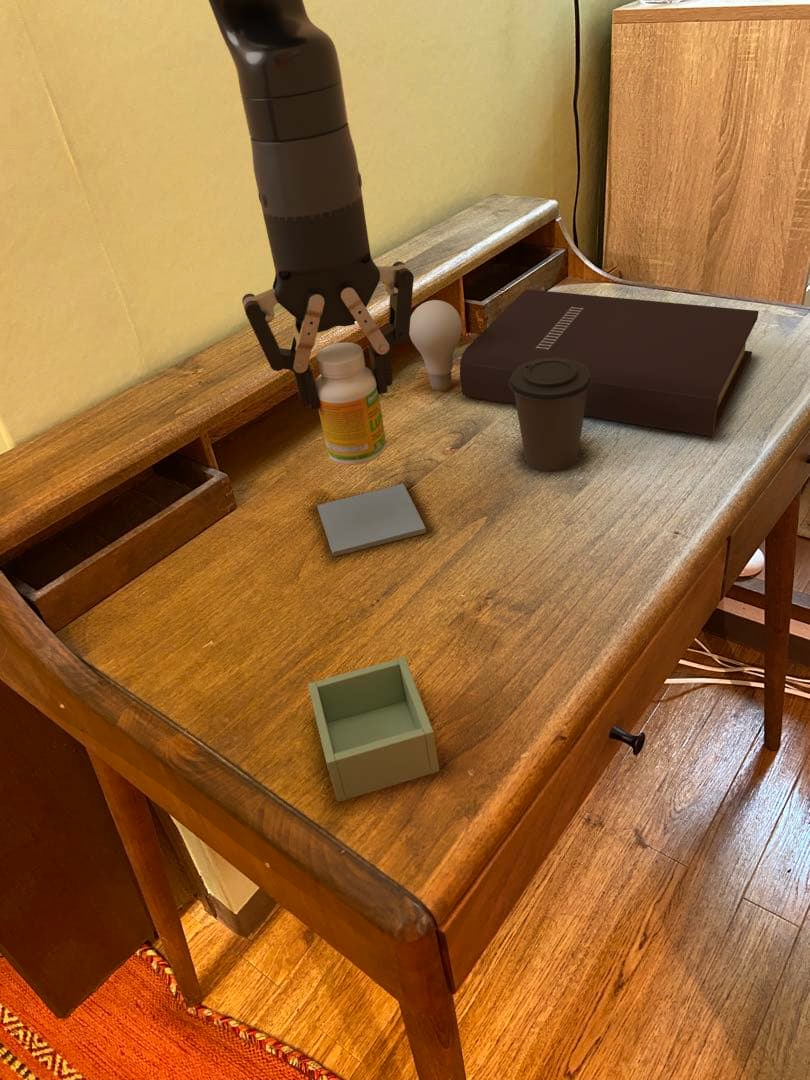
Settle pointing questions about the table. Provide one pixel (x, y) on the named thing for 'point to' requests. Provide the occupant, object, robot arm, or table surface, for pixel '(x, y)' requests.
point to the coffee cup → (551, 410)
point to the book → (620, 355)
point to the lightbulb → (436, 339)
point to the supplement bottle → (349, 405)
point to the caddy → (373, 728)
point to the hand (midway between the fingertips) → (347, 397)
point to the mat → (370, 519)
